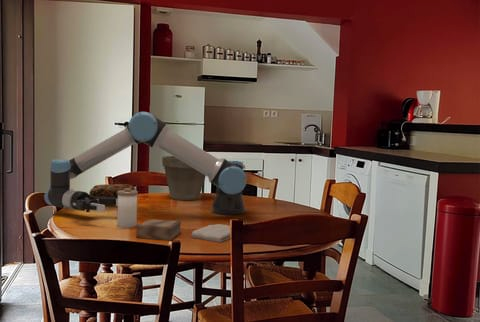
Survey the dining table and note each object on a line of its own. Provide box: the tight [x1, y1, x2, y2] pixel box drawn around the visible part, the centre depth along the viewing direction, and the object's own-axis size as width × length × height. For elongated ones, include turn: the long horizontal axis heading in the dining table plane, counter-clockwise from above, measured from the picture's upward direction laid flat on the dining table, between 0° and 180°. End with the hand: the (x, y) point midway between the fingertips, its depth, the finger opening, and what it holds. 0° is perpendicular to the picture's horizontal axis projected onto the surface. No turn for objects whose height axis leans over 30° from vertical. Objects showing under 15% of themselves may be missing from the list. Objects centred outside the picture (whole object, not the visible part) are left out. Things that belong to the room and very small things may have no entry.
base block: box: [136, 218, 181, 241], centre depth 165 cm, size 12×12×4 cm
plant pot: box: [161, 155, 207, 201], centre depth 247 cm, size 25×25×22 cm
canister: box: [116, 188, 139, 229], centre depth 177 cm, size 7×7×14 cm
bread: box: [88, 183, 135, 208], centre depth 219 cm, size 19×11×10 cm, turn 85°
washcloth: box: [191, 223, 231, 243], centre depth 168 cm, size 12×18×3 cm, turn 153°
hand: (117, 206), depth 180 cm, fingers open, 13 cm apart
